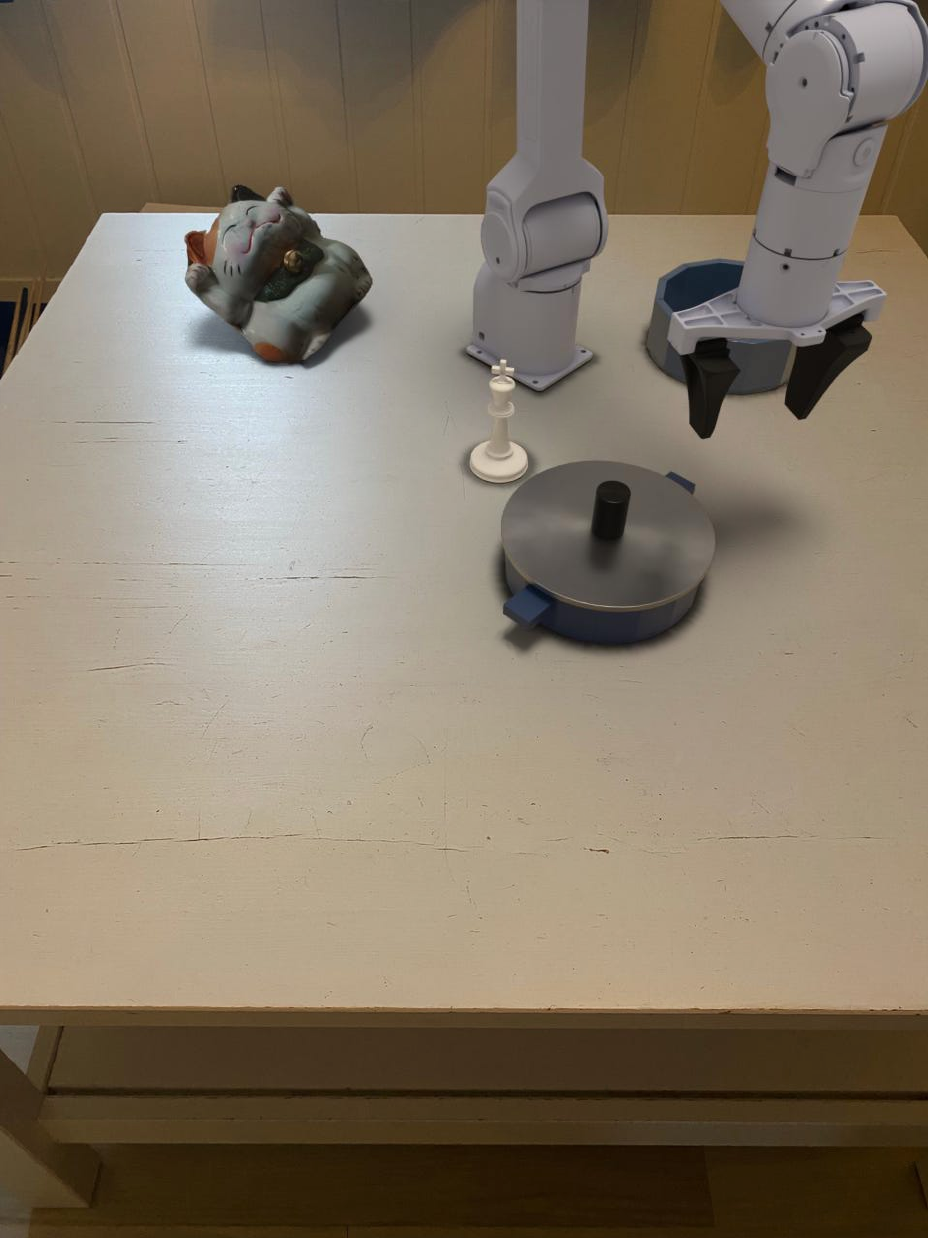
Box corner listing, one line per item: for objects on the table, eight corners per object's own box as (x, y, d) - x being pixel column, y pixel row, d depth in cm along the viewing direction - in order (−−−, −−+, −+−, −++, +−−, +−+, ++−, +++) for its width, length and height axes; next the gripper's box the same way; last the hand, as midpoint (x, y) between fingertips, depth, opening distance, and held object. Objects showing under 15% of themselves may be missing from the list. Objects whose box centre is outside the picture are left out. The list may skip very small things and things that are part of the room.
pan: (440, 591, 70) (440, 553, 67) (605, 467, 79) (611, 430, 76) (594, 700, 63) (600, 663, 60) (753, 551, 73) (766, 513, 70)
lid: (456, 541, 69) (456, 492, 65) (588, 445, 76) (595, 397, 73) (626, 654, 62) (636, 607, 58) (753, 537, 69) (769, 489, 66)
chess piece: (522, 486, 78) (530, 383, 70) (464, 478, 78) (465, 375, 71) (532, 449, 81) (539, 347, 73) (475, 442, 81) (477, 339, 74)
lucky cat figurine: (286, 383, 87) (189, 249, 78) (235, 373, 96) (143, 252, 88) (397, 283, 90) (316, 145, 82) (338, 282, 100) (259, 158, 91)
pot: (617, 350, 91) (624, 299, 87) (702, 293, 98) (713, 244, 94) (747, 413, 84) (761, 361, 80) (828, 348, 92) (846, 297, 88)
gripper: (723, 286, 53) (680, 474, 63) (943, 251, 56) (867, 435, 66) (669, 229, 58) (637, 413, 68) (875, 199, 61) (814, 379, 71)
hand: (747, 420), depth 67 cm, fingers open, 7 cm apart
